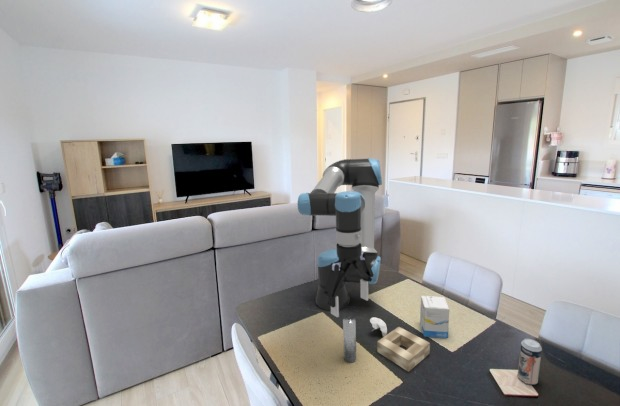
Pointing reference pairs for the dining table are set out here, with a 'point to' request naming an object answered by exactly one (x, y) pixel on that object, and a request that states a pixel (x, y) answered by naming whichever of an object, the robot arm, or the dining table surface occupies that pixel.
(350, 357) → the peg
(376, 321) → the white coral lump
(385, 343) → the socket block
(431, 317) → the ink box
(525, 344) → the beer can
